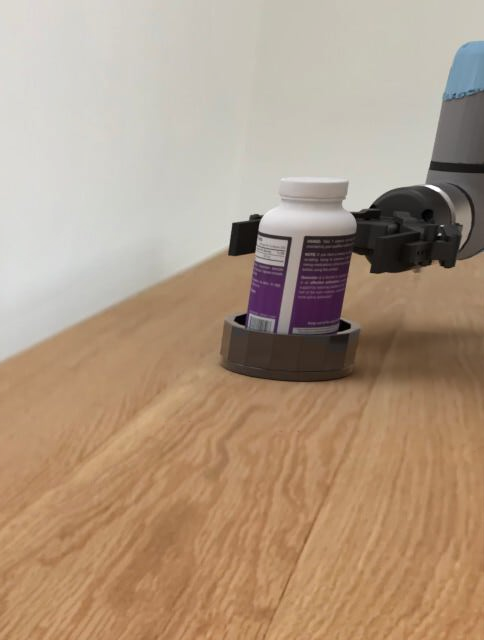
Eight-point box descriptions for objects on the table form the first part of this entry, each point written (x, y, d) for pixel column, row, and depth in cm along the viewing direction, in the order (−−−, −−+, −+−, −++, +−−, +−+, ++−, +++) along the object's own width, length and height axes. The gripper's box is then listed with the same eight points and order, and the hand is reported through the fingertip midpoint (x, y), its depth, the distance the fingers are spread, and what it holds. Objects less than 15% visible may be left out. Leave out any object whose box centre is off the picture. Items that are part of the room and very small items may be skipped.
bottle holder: (351, 357, 104) (360, 315, 102) (351, 385, 94) (361, 339, 92) (225, 348, 107) (231, 306, 105) (213, 375, 97) (219, 329, 95)
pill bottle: (338, 352, 102) (371, 177, 95) (325, 370, 96) (360, 184, 88) (249, 343, 105) (275, 173, 97) (232, 360, 99) (258, 180, 91)
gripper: (534, 285, 102) (433, 313, 89) (291, 256, 117) (175, 277, 104) (559, 194, 98) (457, 211, 85) (304, 176, 113) (185, 188, 101)
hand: (302, 247), depth 95 cm, fingers open, 13 cm apart
